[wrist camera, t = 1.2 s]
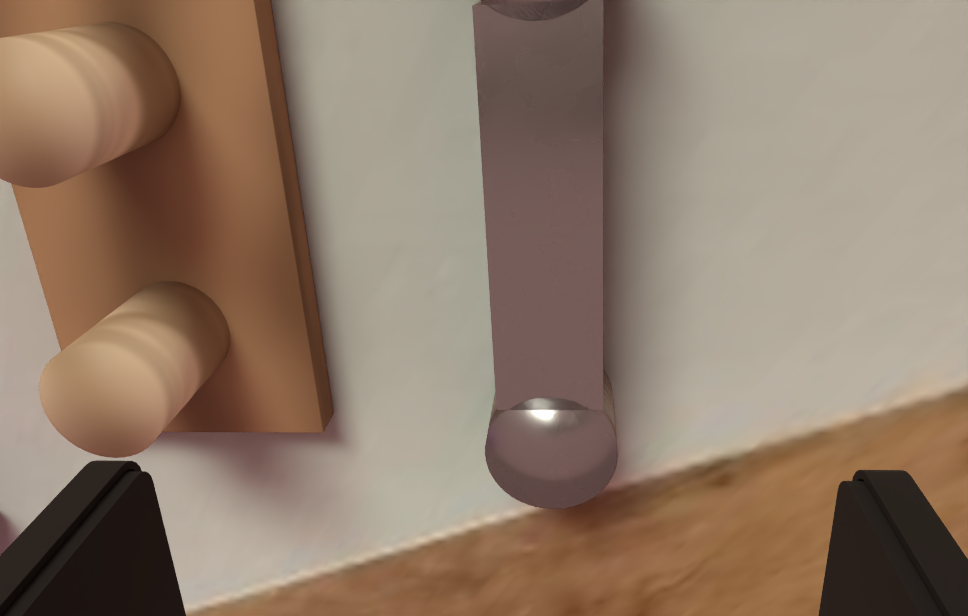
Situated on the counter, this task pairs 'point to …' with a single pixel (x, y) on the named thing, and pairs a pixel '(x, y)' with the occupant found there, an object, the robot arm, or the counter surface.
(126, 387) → the tool rest
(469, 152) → the counter surface
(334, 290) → the counter surface
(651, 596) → the counter surface
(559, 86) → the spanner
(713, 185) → the counter surface
